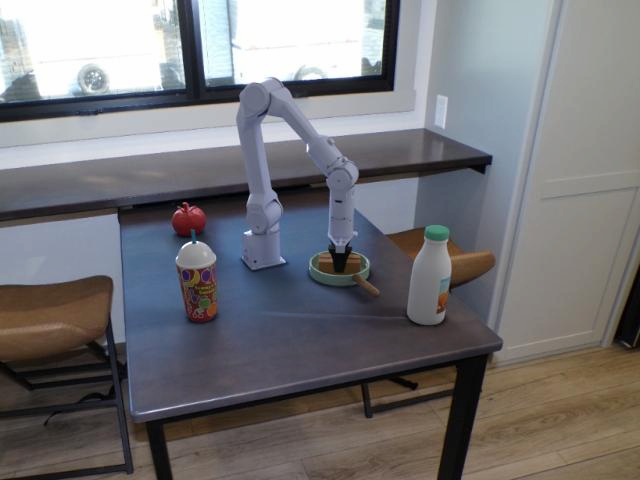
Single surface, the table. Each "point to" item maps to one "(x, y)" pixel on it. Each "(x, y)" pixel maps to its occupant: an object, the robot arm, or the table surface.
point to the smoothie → (198, 279)
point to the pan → (337, 279)
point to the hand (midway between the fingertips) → (339, 267)
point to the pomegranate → (188, 220)
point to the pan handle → (366, 285)
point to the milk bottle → (430, 278)
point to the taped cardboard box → (350, 268)
